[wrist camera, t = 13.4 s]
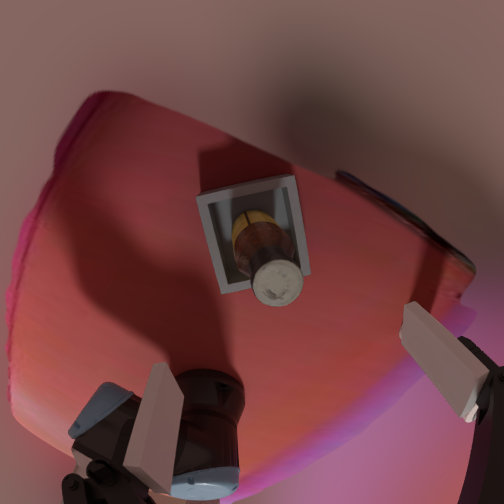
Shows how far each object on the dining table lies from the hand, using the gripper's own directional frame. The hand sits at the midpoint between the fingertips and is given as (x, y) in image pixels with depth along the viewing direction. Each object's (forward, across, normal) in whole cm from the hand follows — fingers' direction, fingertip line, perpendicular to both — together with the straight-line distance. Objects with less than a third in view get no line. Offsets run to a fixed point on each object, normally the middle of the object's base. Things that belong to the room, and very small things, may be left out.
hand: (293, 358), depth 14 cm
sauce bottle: (+28, 0, 0) cm, 28 cm away
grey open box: (+29, 0, 0) cm, 29 cm away
